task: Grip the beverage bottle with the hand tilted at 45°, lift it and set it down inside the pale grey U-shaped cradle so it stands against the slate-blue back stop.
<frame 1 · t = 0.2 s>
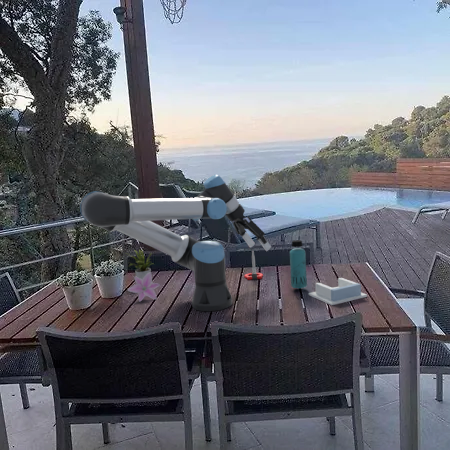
hand: (260, 247, 184), 16 cm above the table, tool tilted 35°, fingers open, 13 cm apart
lily: (145, 298, 177), on the table
house plant: (141, 283, 201), on the table
beverage bottle: (299, 290, 174), on the table
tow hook: (253, 277, 197), on the table
stop cradle: (337, 295, 163), on the table
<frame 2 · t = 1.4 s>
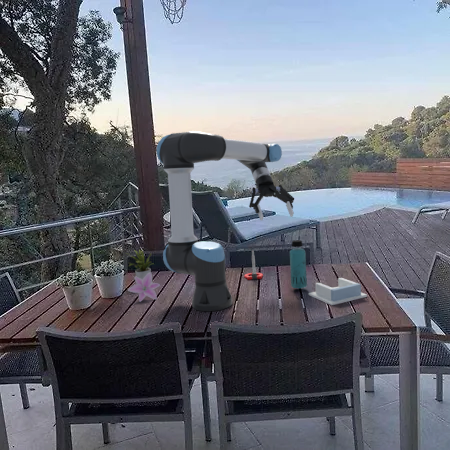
hand: (277, 216, 183), 28 cm above the table, tool tilted 45°, fingers open, 13 cm apart
nothing on the table moved.
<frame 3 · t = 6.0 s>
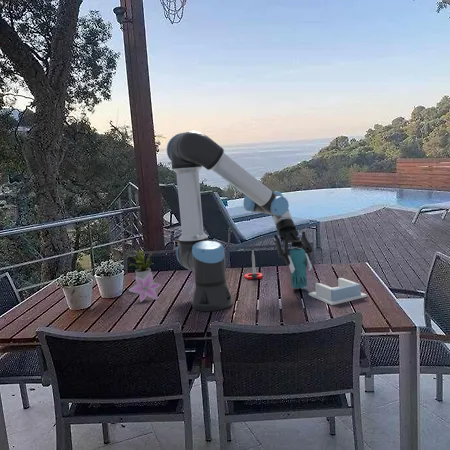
hand: (301, 269, 169), 9 cm above the table, tool tilted 45°, fingers closed on beverage bottle, 6 cm apart
beverage bottle: (299, 290, 174), on the table, touching gripper
everything else where it was.
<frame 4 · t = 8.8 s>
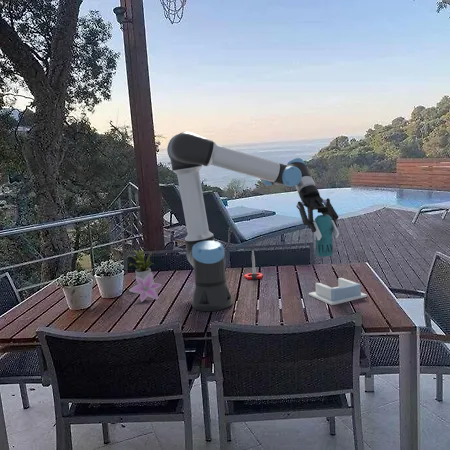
hand: (328, 236, 160), 22 cm above the table, tool tilted 45°, fingers closed on beverage bottle, 6 cm apart
beverage bottle: (324, 258, 165), point 13 cm above the table, touching gripper
everything else where it was.
when the fingers open (11 cm above the table, at t = 11.7 s): beverage bottle drops 1 cm, resting on stop cradle.
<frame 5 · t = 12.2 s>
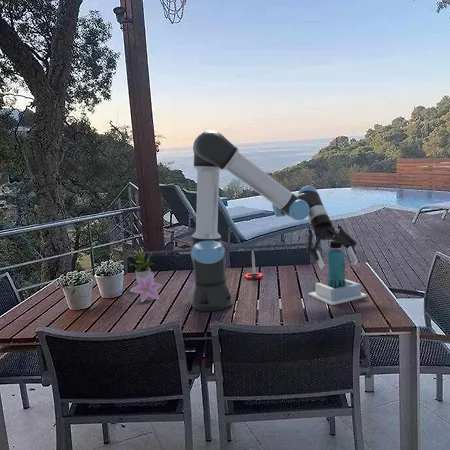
hand: (339, 265, 158), 12 cm above the table, tool tilted 45°, fingers open, 13 cm apart
beverage bottle: (337, 294, 163), point 1 cm above the table, touching stop cradle
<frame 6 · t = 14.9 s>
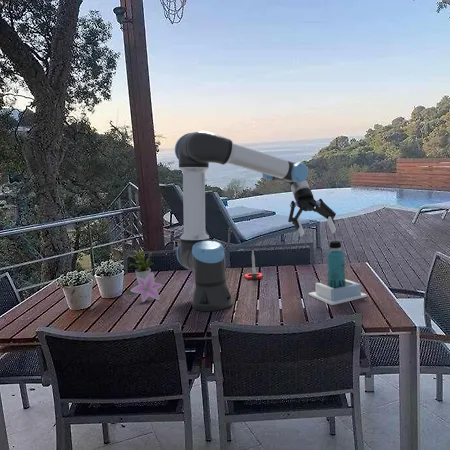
hand: (318, 232, 172), 22 cm above the table, tool tilted 45°, fingers open, 13 cm apart
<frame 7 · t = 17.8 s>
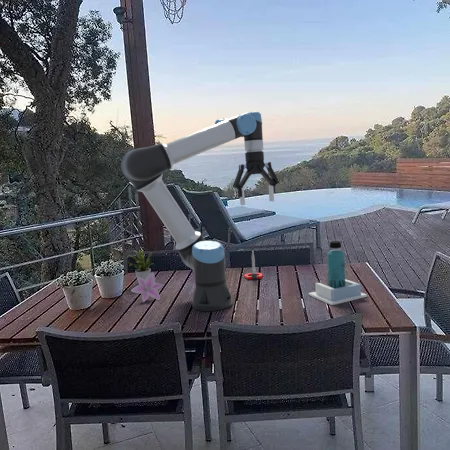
hand: (257, 203, 180), 35 cm above the table, tool pointing down, fingers open, 13 cm apart
at the end: beverage bottle 0.1 cm off-centre on the stop cradle, point 0.6 cm above the stop cradle's base; beverage bottle tilted 0°; the gripper is holding nothing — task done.
